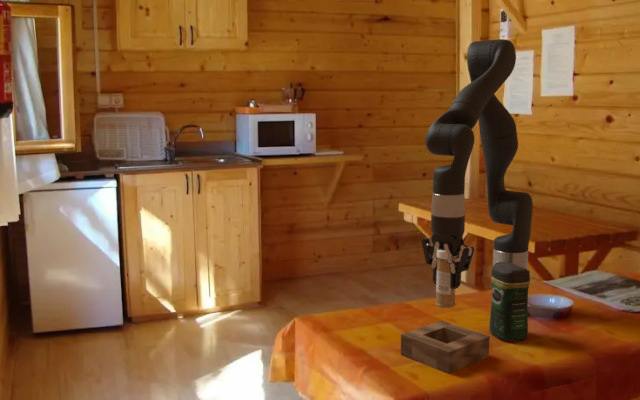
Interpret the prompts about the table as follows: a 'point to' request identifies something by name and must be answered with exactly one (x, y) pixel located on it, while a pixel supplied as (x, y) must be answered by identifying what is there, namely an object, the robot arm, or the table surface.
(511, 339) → the coffee jar
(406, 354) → the well block
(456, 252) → the robot arm
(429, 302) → the table surface
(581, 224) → the table surface
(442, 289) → the sprinkles bottle
